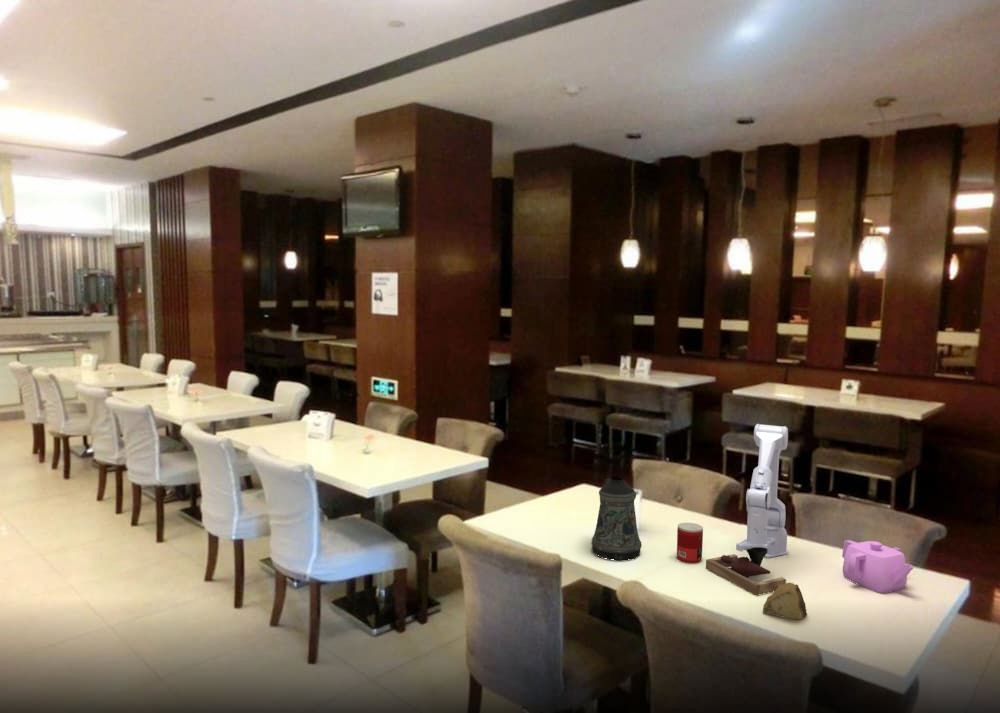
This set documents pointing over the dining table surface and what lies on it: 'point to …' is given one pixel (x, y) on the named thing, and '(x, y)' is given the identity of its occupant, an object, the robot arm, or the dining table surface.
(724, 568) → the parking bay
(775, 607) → the rock
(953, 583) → the dining table surface
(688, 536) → the canned food
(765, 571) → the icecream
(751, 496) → the robot arm
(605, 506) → the beer stein
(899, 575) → the teakettle
